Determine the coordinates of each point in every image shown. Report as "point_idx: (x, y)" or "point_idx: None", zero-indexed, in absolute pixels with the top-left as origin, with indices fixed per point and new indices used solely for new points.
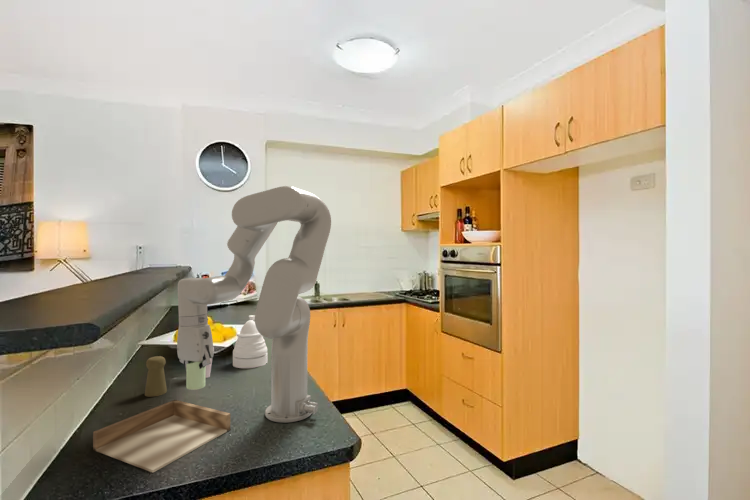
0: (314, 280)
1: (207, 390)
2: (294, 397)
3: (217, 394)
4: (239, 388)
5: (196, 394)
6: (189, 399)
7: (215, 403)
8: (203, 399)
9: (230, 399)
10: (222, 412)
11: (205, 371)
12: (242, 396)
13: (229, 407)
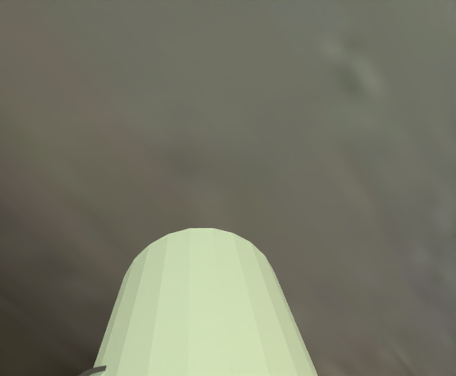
0: None
1: (114, 20)
2: None
3: (251, 79)
4: None
5: (96, 121)
6: (122, 212)
7: (332, 218)
8: (215, 186)
9: (394, 137)
10: None
11: (304, 352)
12: (453, 65)
13: (445, 243)
